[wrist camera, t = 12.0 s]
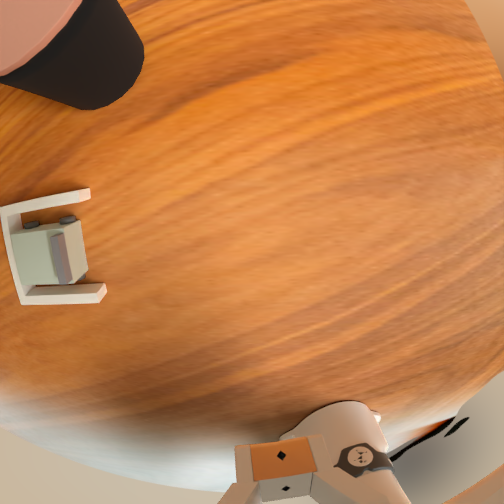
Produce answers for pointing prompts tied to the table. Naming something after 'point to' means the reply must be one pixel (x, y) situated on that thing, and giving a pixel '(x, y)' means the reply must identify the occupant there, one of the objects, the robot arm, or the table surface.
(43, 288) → the dock bay
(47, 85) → the coffee jar
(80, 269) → the sage cart
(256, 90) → the table surface
